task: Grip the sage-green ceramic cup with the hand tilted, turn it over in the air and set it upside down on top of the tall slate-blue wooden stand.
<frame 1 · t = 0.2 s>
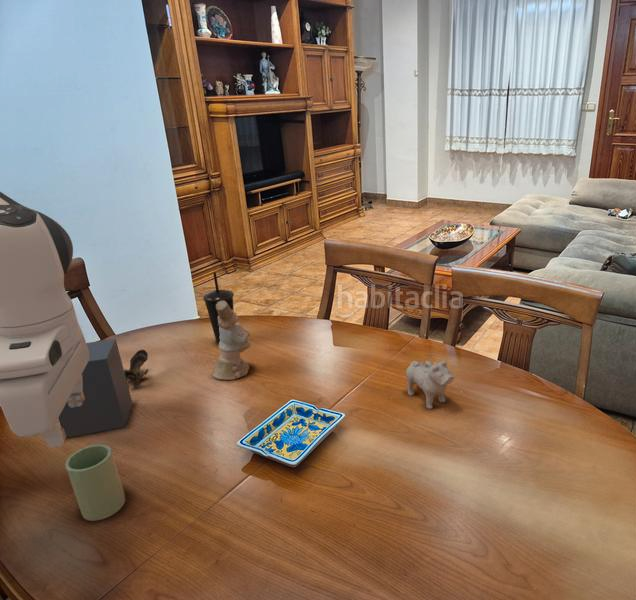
hand: (68, 422, 71), 21 cm above the table, tool pointing down, fingers open, 8 cm apart
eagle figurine: (138, 380, 122), on the table
green cup: (104, 505, 85), on the table
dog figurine: (430, 399, 112), on the table
figurine: (234, 373, 124), on the table
drinking cup: (226, 342, 139), on the table
stand: (100, 420, 107), on the table
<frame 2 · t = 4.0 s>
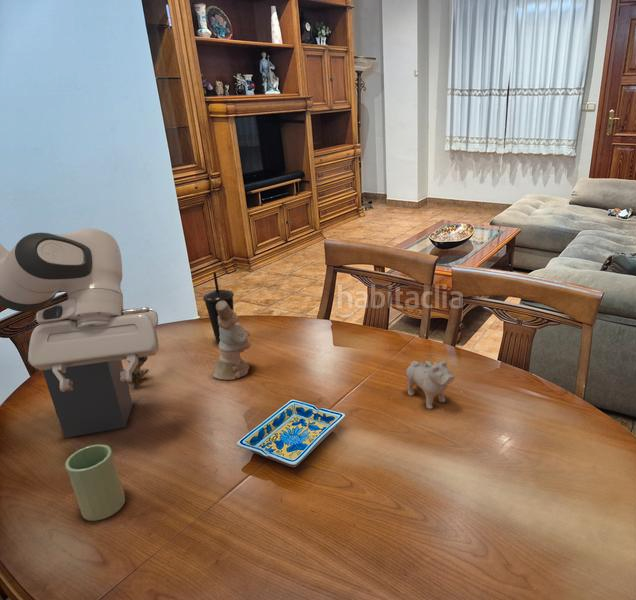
hand: (96, 386, 89), 16 cm above the table, tool tilted 45°, fingers open, 8 cm apart
nothing on the table moved.
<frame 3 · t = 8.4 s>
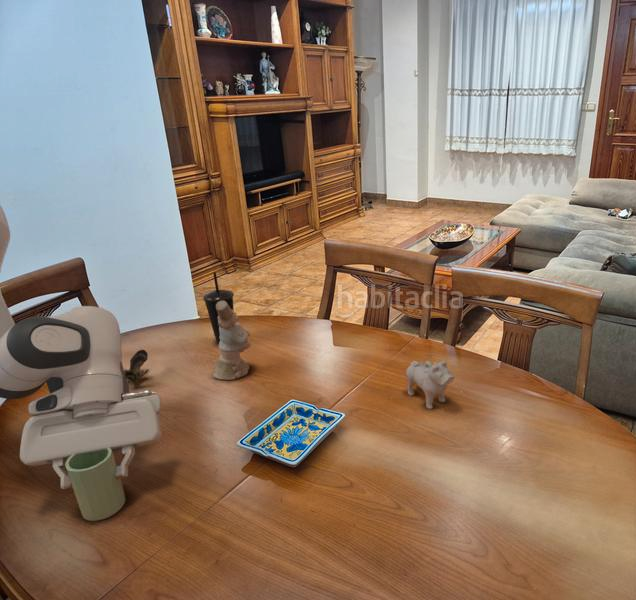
hand: (94, 482, 82), 5 cm above the table, tool tilted 45°, fingers closed on green cup, 6 cm apart
green cup: (104, 505, 85), on the table, touching gripper
everything else where it was.
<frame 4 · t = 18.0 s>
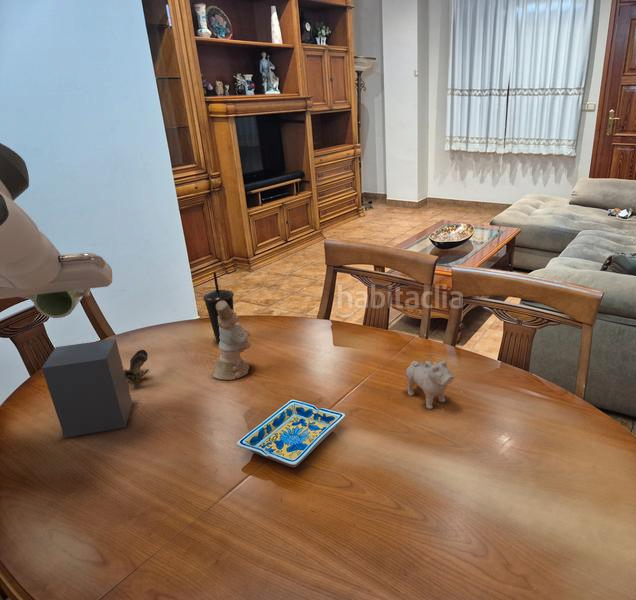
hand: (62, 295, 96), 28 cm above the table, tool tilted 45°, fingers closed on green cup, 6 cm apart
green cup: (70, 283, 100), point 29 cm above the table, tilted 90°, touching gripper
everything else where it was.
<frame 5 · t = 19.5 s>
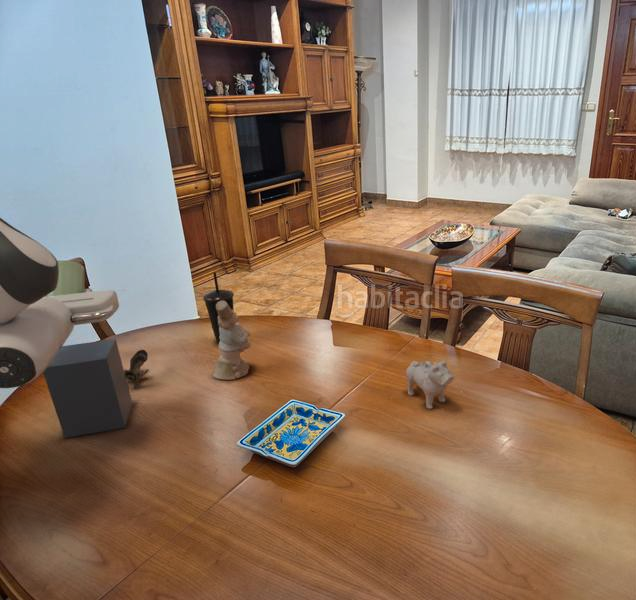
hand: (65, 295, 97), 28 cm above the table, tool horizontal, fingers closed on green cup, 6 cm apart
green cup: (64, 268, 99), point 32 cm above the table, tilted 135°, touching gripper
everything else where it was.
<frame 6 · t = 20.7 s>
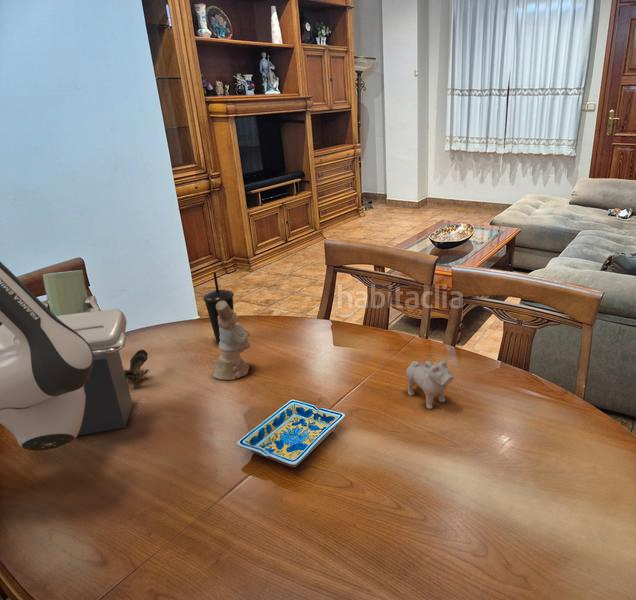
hand: (68, 300, 99), 26 cm above the table, tool pointing upward, fingers closed on green cup, 6 cm apart
green cup: (62, 272, 97), point 32 cm above the table, tilted 165°, touching gripper
everything else where it was.
when the fingers open (21 cm above the table, at t = 23.6 s): green cup moves 3 cm and tips over, resting on stand.
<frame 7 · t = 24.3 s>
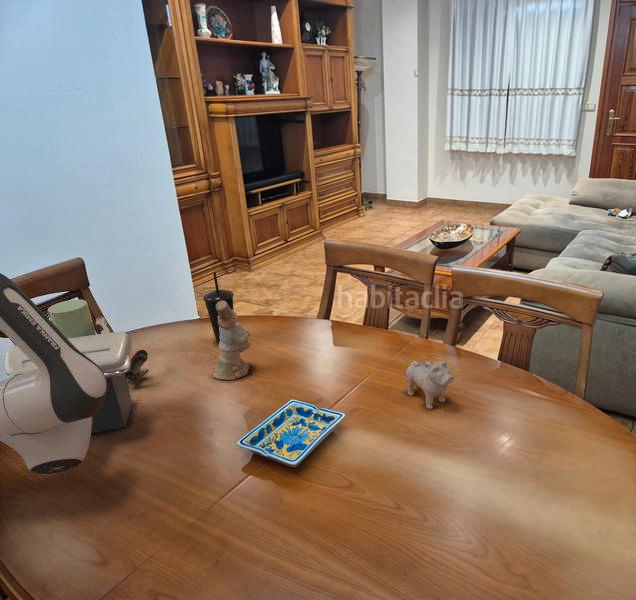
hand: (75, 322, 100), 22 cm above the table, tool pointing upward, fingers open, 8 cm apart
green cup: (67, 305, 97), point 26 cm above the table, tilted 180°, touching stand
everything else where it was.
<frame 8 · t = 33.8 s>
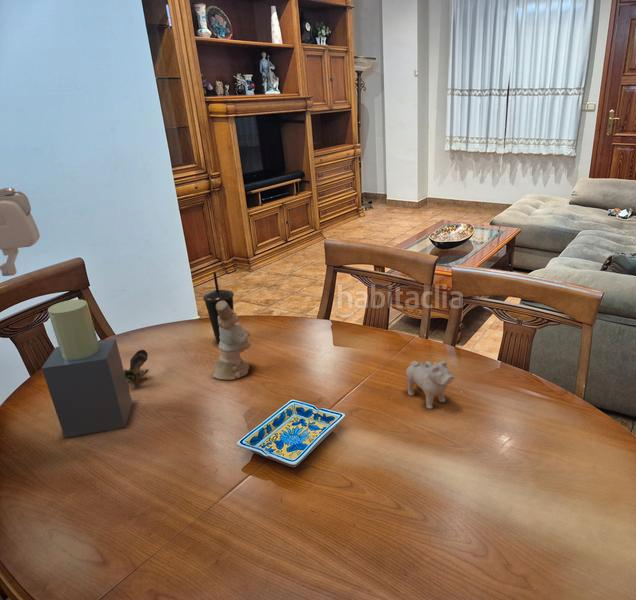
nothing on the table moved.
at the end: green cup tilted 180°; green cup inside the target area on the stand (0.1 cm from its centre), point 26.0 cm above the stand's base; the gripper is holding nothing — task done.
